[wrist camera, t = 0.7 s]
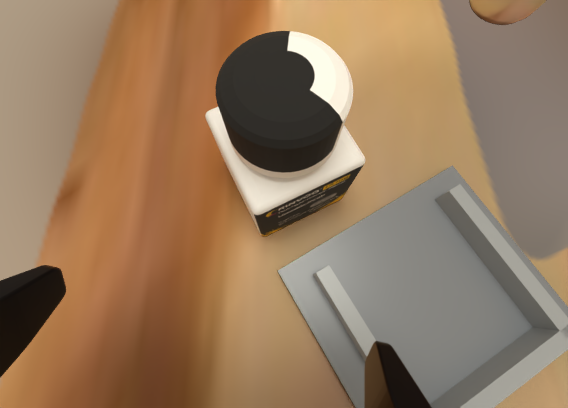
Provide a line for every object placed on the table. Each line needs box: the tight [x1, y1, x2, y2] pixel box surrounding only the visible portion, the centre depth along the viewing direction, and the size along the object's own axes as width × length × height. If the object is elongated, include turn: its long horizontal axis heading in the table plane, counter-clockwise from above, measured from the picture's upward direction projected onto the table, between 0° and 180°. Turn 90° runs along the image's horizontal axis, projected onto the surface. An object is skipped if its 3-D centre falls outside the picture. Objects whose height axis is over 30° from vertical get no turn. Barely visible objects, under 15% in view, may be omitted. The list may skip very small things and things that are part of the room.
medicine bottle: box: [206, 31, 365, 236], centre depth 18 cm, size 7×7×12 cm
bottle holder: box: [278, 166, 568, 408], centre depth 20 cm, size 14×16×3 cm
